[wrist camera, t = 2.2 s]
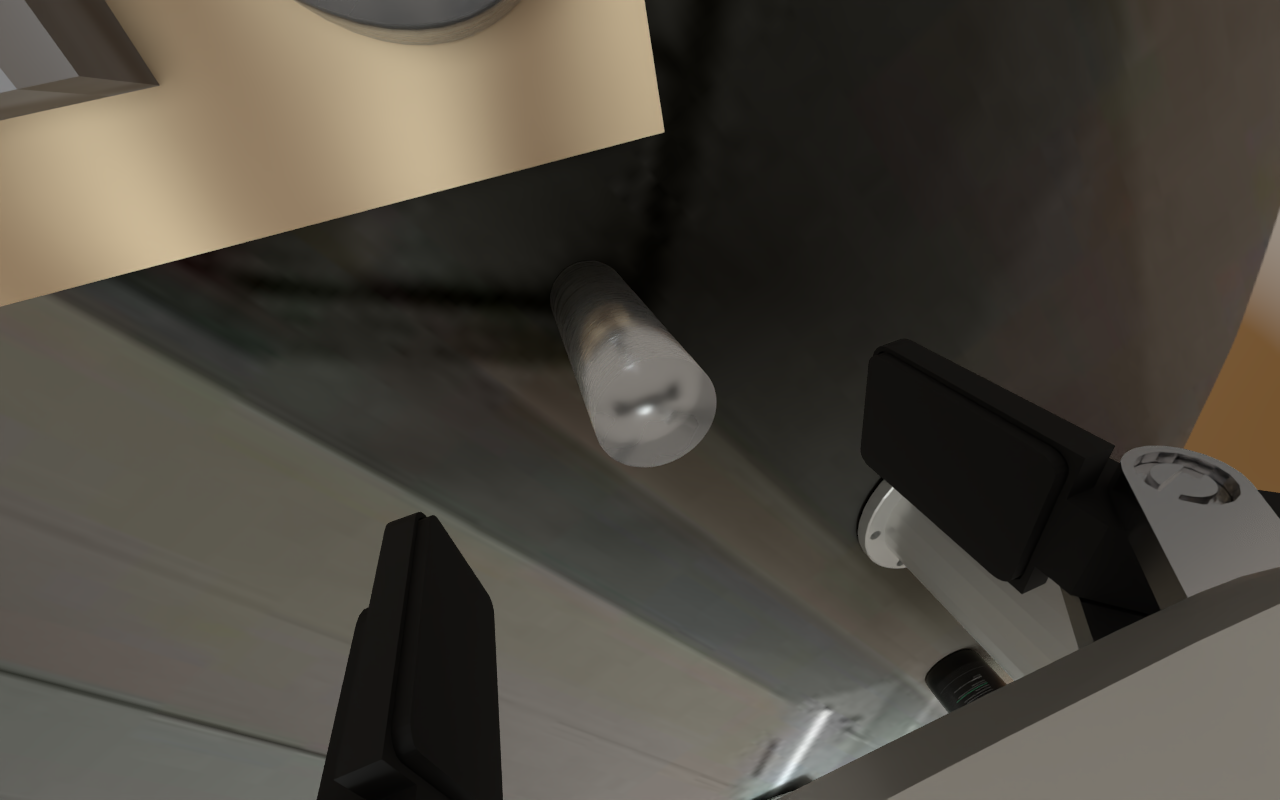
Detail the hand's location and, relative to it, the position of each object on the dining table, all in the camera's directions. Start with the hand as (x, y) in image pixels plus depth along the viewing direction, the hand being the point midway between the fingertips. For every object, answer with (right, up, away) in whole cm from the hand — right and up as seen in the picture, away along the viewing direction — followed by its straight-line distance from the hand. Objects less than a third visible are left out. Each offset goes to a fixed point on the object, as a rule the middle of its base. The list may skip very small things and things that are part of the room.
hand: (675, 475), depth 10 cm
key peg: (-3, +6, +11) cm, 13 cm away
